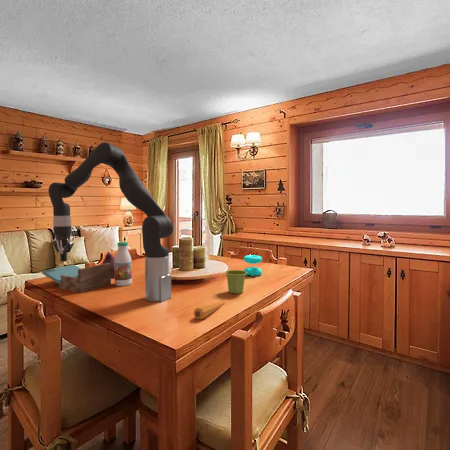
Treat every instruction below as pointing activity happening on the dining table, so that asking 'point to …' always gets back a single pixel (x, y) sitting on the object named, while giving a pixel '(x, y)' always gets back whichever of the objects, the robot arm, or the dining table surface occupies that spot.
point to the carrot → (206, 310)
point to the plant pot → (235, 280)
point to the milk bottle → (123, 265)
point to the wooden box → (87, 279)
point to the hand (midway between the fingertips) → (63, 261)
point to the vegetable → (111, 260)
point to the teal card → (61, 272)
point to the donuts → (253, 260)
